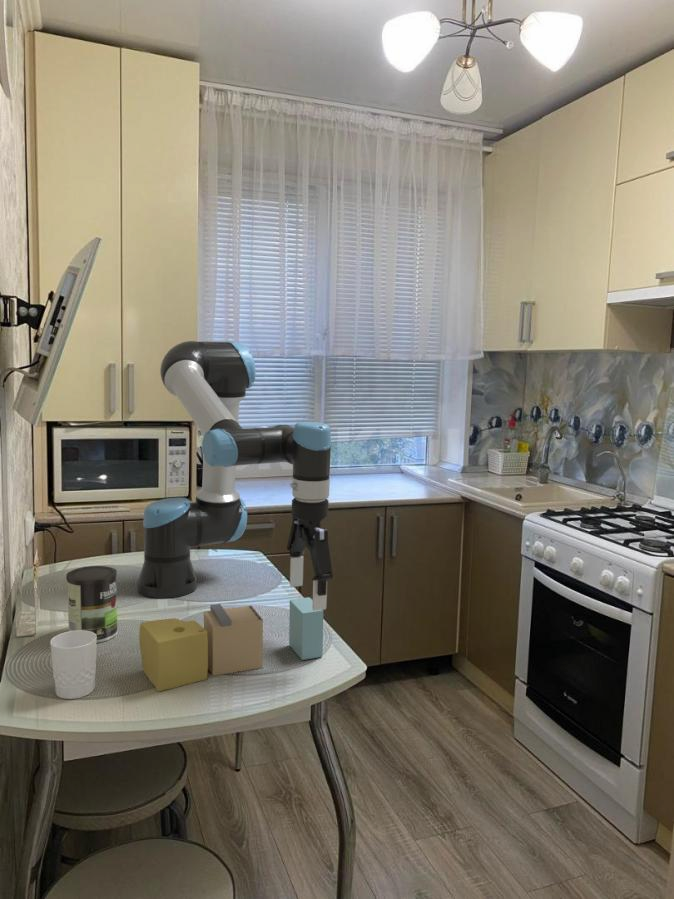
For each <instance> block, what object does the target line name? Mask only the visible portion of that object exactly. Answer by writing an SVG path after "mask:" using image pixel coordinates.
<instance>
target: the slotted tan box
mask: <svg viewBox="0 0 674 899" xmlns="http://www.w3.org/2000/svg"><path fill="white" fill-rule="evenodd" d="M203 628H204V629H205V630H206V631H207V638H208V670H209V672H211V675H212V676H213V677H214V676H219V675H226V674H232V673H238V671H239V672H243V671H251V670H256V669H262V668H263V650H264V649H263V648H264V647H263V646H264V643H263V642H264V640H263V639H264V638H263V637H264V636H263V634H264V619H263V618H262V617H261V615H260V614H259V612H257V611H256V610H255V608H254V607H253V605H247V606H239V607H230V608H224V607H223V606H222V605H221V603H218V604H211V605H210V610H209V611H208V610H207V611H203Z"/></svg>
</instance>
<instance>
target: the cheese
mask: <svg viewBox="0 0 674 899" xmlns="http://www.w3.org/2000/svg"><path fill="white" fill-rule="evenodd" d="M138 634H139V635H138V642H139V650H140V657H141V663H142V669H143V673H144V674H145V675H146V677H147V678H148V680H149V681H150V682H151V684H152V685H154V687H155V689H157V691H158V692H162V691H168V690H171V689H176V688H178V687H182V686H184V685H189V684H192V683H198V682H202V681H205V680H207V679H208V670H209V667H208V638H207V631H206V630H205V629H204V626H202V624H200V623H198V622H197V621H196V620H181V619H179V618H176V617H173V618H172V617H171V618H165V619H164V618H163V619H155V620H149V621H145V622H141V623H140V625H139V633H138Z"/></svg>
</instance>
